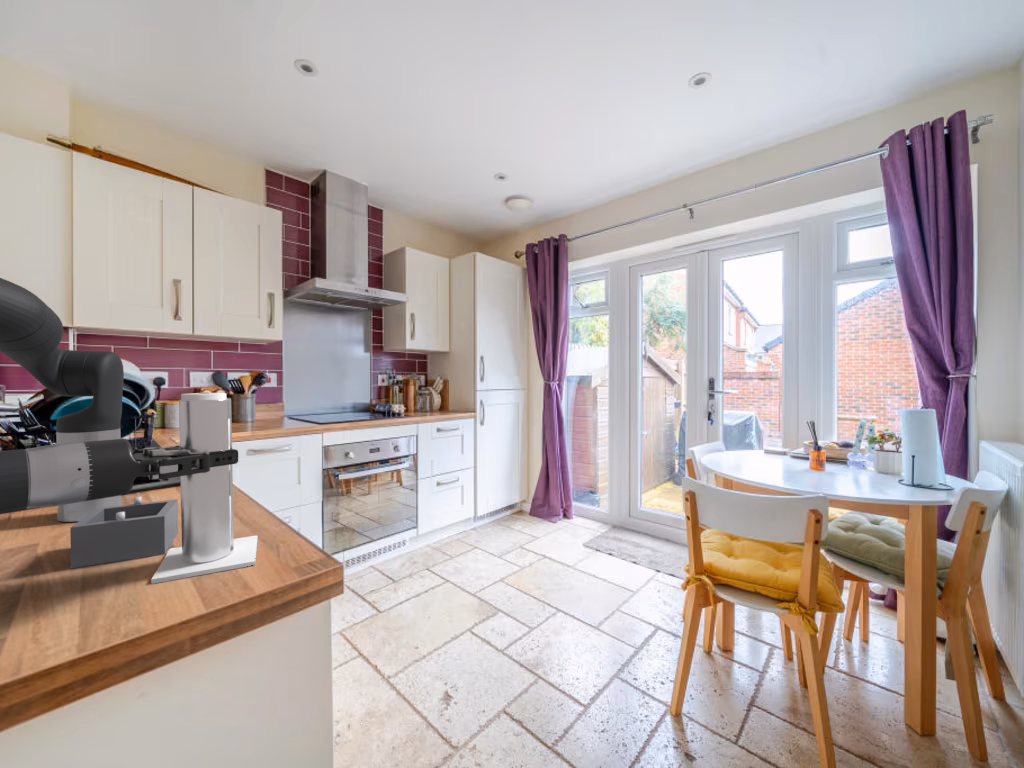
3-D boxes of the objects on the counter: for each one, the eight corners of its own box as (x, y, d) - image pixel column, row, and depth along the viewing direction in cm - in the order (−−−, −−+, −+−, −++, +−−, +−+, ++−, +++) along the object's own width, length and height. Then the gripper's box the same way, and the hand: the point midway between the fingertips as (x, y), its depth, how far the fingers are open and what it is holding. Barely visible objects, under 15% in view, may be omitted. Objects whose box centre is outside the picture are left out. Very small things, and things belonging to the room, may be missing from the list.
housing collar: (97, 543, 72) (97, 500, 72) (178, 532, 77) (177, 492, 77) (70, 568, 62) (70, 519, 62) (164, 553, 68) (164, 508, 67)
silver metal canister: (207, 565, 62) (204, 393, 61) (170, 562, 63) (167, 393, 63) (243, 548, 68) (241, 391, 68) (209, 545, 70) (207, 391, 69)
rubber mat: (170, 552, 68) (170, 548, 68) (257, 538, 74) (257, 535, 74) (151, 583, 58) (151, 579, 58) (254, 565, 64) (254, 561, 64)
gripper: (92, 448, 50) (248, 433, 63) (67, 437, 58) (210, 426, 72) (93, 512, 50) (248, 484, 63) (68, 492, 58) (210, 471, 72)
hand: (227, 453), depth 68 cm, fingers open, 6 cm apart
